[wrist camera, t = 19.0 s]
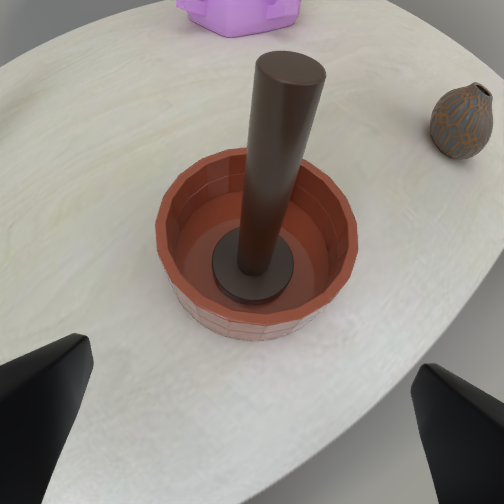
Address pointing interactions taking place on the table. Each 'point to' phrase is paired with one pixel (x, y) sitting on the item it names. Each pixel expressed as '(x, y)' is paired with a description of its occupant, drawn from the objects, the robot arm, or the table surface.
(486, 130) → the vase
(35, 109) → the table surface
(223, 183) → the bowl
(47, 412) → the robot arm
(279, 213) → the dark brown rod
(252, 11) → the teakettle
